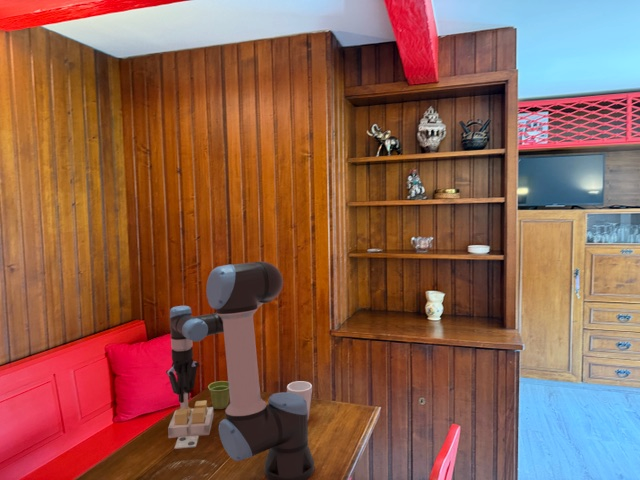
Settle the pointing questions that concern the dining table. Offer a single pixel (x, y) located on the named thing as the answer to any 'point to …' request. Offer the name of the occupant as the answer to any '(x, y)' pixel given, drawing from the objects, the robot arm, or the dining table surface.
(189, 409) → the tan cube block
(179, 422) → the button near left
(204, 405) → the button far right
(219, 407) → the plant pot
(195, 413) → the button near right
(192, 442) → the pattern card
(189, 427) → the board
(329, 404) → the dining table surface
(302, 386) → the foam cup
